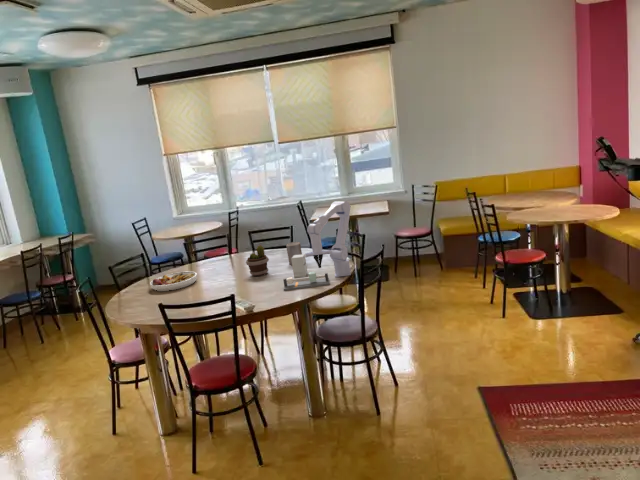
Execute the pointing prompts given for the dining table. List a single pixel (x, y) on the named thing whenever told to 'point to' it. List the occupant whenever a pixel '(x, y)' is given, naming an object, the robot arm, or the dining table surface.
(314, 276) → the sleeve
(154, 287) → the bowl
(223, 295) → the dining table surface
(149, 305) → the dining table surface
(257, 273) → the flowerpot
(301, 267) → the supplement box
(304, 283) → the cord board
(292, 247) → the pillar candle
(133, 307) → the dining table surface
